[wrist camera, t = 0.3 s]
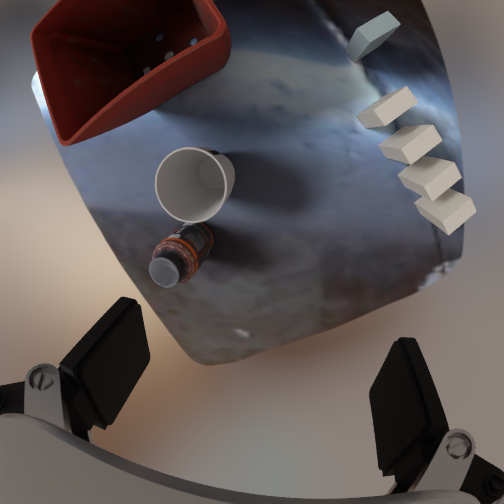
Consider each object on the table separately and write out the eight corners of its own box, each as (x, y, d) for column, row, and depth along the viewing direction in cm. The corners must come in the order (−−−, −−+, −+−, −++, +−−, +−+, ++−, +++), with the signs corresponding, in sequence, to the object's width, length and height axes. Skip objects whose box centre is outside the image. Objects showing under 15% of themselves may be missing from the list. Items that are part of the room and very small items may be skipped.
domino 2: (382, 96, 29) (406, 86, 21) (391, 108, 30) (418, 102, 22) (355, 116, 31) (373, 110, 23) (365, 128, 32) (385, 126, 23)
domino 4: (422, 155, 31) (454, 162, 23) (429, 167, 32) (461, 177, 24) (397, 174, 33) (424, 186, 25) (404, 186, 34) (432, 201, 25)
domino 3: (404, 125, 30) (432, 124, 22) (412, 138, 31) (442, 140, 23) (377, 145, 32) (400, 148, 24) (386, 157, 33) (411, 164, 24)
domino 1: (369, 35, 26) (387, 10, 18) (379, 46, 26) (400, 24, 18) (344, 51, 28) (356, 28, 20) (354, 62, 28) (370, 42, 20)
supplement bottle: (183, 213, 40) (146, 240, 30) (220, 228, 40) (193, 261, 30) (173, 247, 43) (138, 282, 33) (208, 262, 43) (181, 302, 33)
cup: (244, 143, 35) (226, 145, 26) (245, 202, 38) (227, 224, 29) (187, 145, 36) (152, 149, 27) (189, 201, 39) (158, 222, 30)
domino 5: (438, 183, 32) (471, 197, 24) (444, 194, 33) (476, 211, 25) (414, 202, 34) (442, 221, 26) (420, 213, 35) (448, 235, 26)
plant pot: (203, -17, 25) (155, -74, 10) (260, 74, 31) (231, 30, 16) (103, 49, 31) (28, 32, 16) (143, 140, 37) (62, 151, 21)
